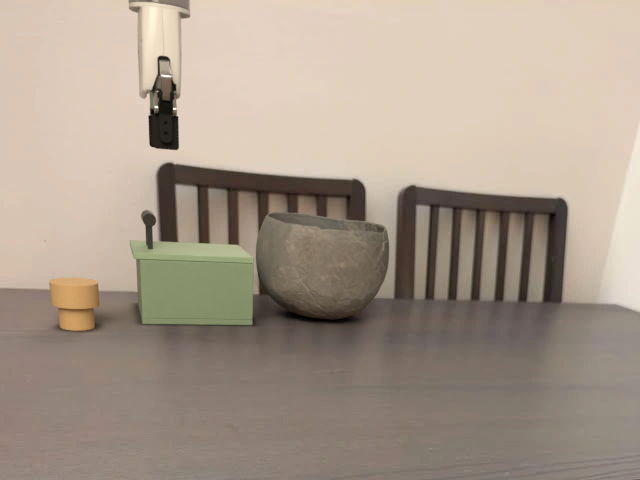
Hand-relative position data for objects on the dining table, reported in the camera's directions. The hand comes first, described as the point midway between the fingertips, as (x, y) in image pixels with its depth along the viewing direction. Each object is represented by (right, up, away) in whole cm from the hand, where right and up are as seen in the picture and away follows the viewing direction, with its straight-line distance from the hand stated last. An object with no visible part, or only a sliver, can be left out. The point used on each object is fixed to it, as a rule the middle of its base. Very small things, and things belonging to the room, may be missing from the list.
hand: (163, 148), depth 99 cm
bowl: (+20, -19, +18) cm, 33 cm away
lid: (+2, -12, +8) cm, 15 cm away
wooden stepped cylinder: (-11, -24, -1) cm, 27 cm away
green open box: (+1, -20, +12) cm, 23 cm away
